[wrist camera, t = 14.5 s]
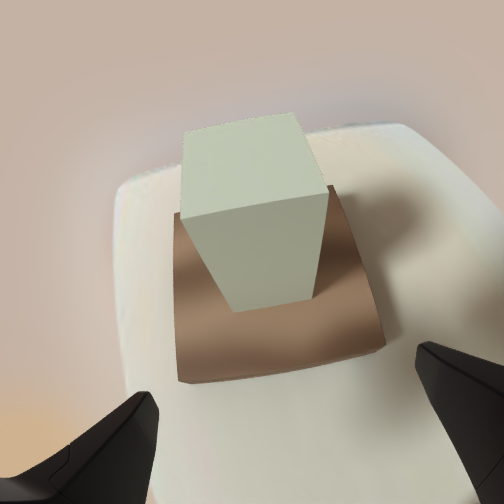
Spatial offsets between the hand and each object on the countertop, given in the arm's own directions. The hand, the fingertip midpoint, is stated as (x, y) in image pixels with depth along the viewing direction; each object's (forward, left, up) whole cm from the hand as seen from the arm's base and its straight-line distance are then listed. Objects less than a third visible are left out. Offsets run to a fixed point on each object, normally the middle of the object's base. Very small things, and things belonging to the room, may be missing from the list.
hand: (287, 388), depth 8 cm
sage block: (+8, 0, -8) cm, 11 cm away
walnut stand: (+8, 0, -11) cm, 13 cm away
